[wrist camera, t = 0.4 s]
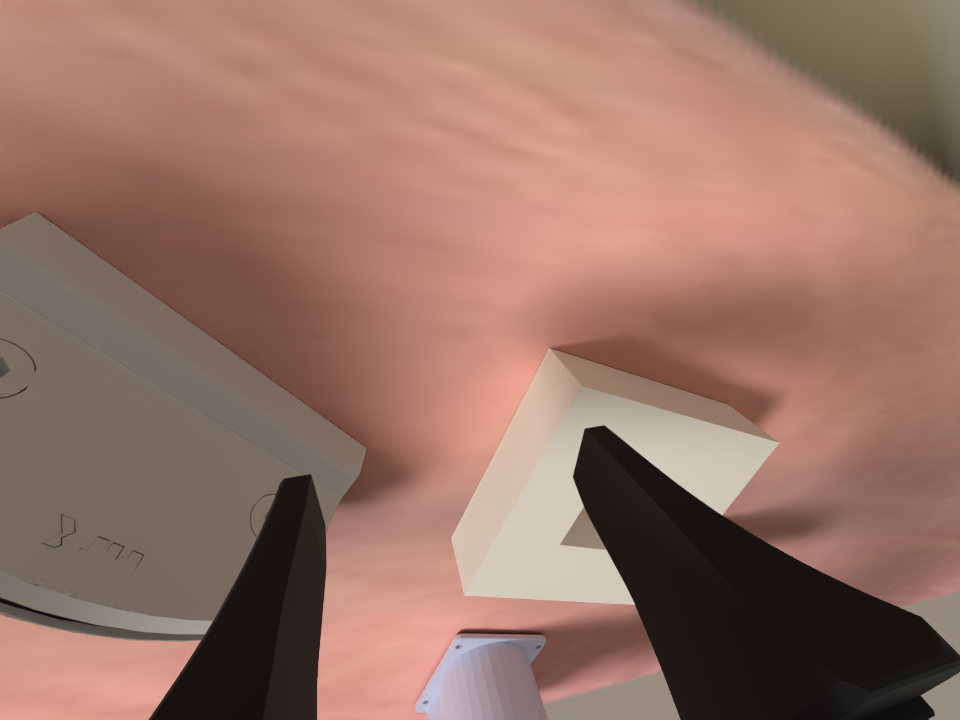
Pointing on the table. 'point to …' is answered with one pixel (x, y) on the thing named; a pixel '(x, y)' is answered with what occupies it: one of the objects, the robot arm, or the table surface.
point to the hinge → (133, 449)
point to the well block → (551, 488)
